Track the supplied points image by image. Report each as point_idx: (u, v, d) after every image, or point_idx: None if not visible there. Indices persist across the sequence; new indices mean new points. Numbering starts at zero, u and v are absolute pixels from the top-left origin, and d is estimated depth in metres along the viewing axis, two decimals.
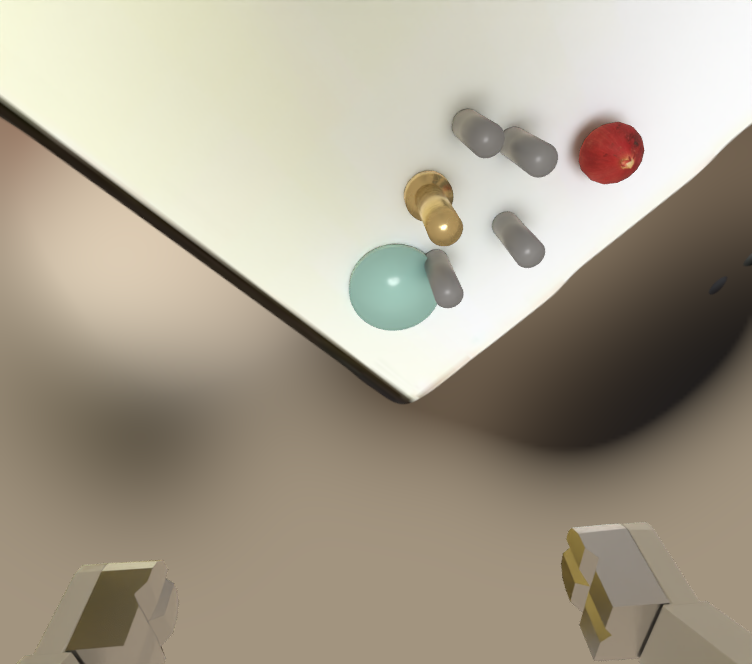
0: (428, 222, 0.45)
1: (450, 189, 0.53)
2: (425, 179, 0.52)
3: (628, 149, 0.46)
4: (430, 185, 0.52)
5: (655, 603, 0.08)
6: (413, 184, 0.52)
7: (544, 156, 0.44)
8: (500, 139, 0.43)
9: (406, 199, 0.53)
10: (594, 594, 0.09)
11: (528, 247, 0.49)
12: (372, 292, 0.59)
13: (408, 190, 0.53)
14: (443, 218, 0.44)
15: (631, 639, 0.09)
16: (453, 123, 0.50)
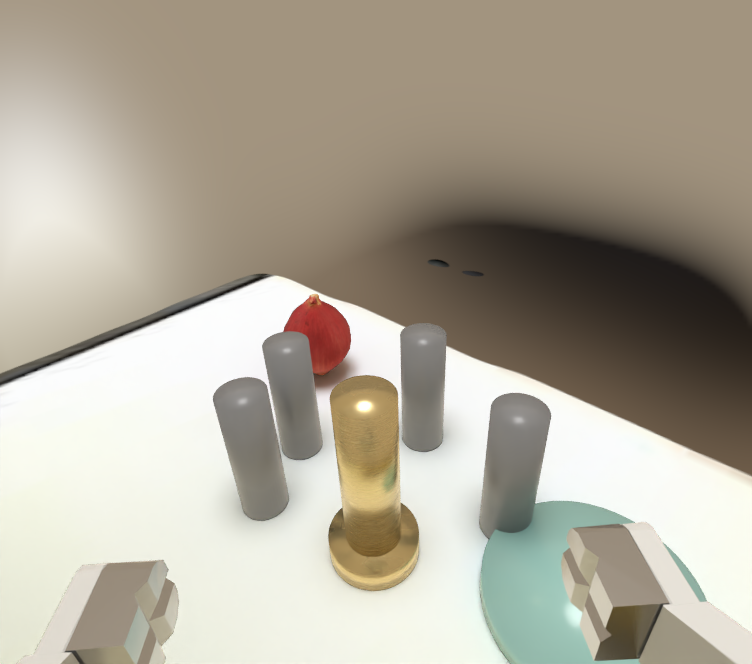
0: (351, 425, 0.22)
1: None
2: (336, 540, 0.28)
3: (301, 306, 0.41)
4: None
5: (655, 603, 0.08)
6: (345, 561, 0.27)
7: (281, 341, 0.32)
8: (243, 381, 0.29)
9: (374, 572, 0.26)
10: (595, 594, 0.09)
11: (413, 337, 0.32)
12: None
13: (356, 569, 0.26)
14: (341, 399, 0.23)
15: (631, 639, 0.09)
16: (256, 513, 0.31)
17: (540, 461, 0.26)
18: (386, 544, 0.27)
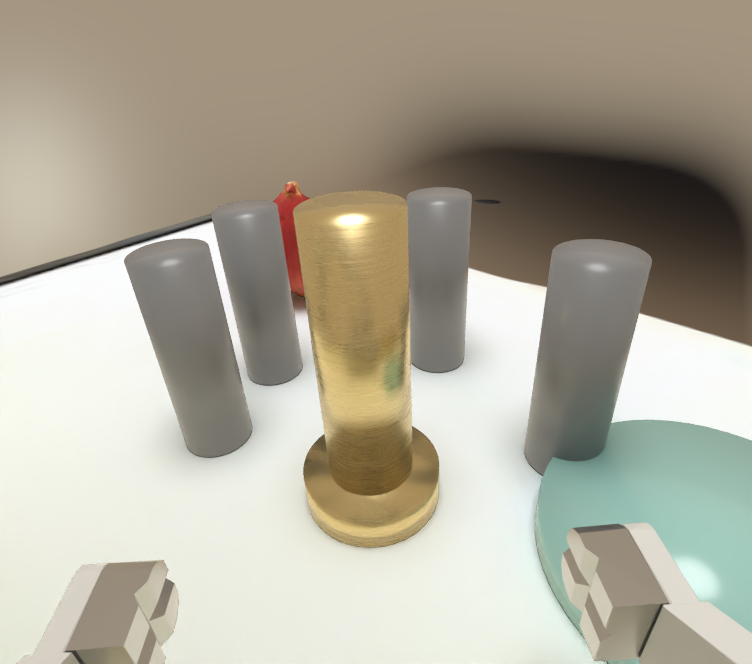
0: (328, 242, 0.13)
1: None
2: (316, 475, 0.19)
3: (275, 200, 0.32)
4: None
5: (655, 603, 0.08)
6: (328, 502, 0.17)
7: (238, 207, 0.23)
8: (176, 241, 0.19)
9: (372, 516, 0.17)
10: (595, 594, 0.09)
11: (424, 198, 0.23)
12: None
13: (345, 513, 0.17)
14: (312, 211, 0.14)
15: (631, 639, 0.09)
16: (202, 445, 0.21)
17: (630, 338, 0.17)
18: (390, 475, 0.17)
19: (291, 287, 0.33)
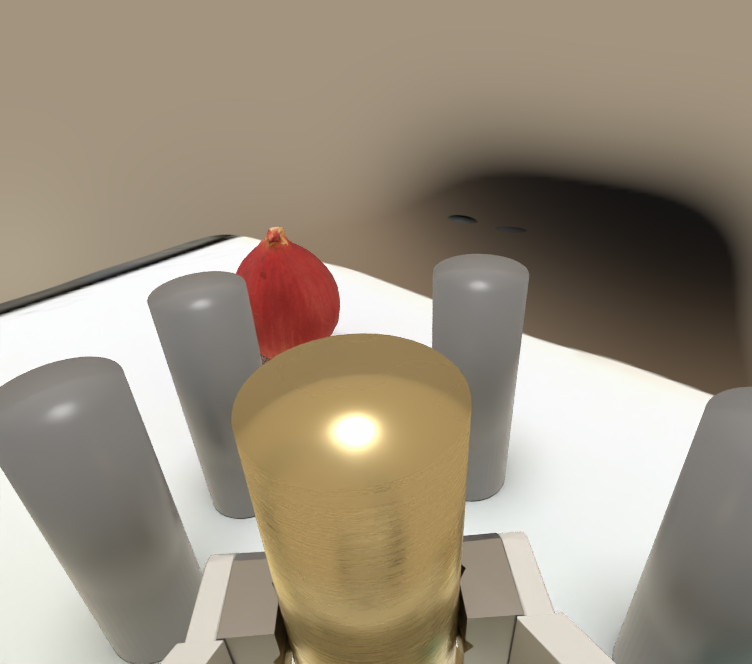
0: (302, 510, 0.06)
1: None
2: None
3: (255, 249, 0.24)
4: None
5: (511, 615, 0.08)
6: None
7: (189, 287, 0.16)
8: (75, 364, 0.12)
9: None
10: (459, 604, 0.09)
11: (459, 276, 0.16)
12: None
13: None
14: (273, 410, 0.07)
15: (495, 650, 0.09)
16: (129, 652, 0.14)
17: None
18: None
19: None
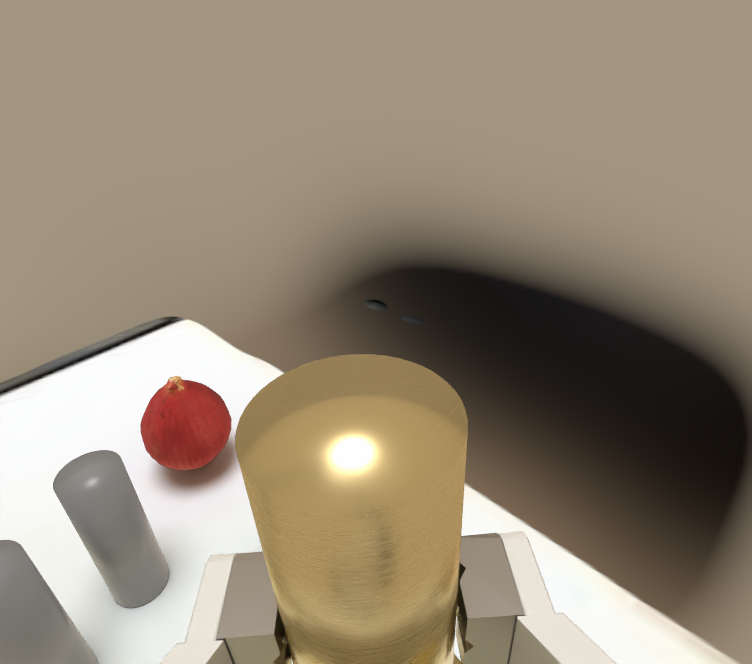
0: (305, 533, 0.06)
1: None
2: None
3: (160, 390, 0.33)
4: None
5: (511, 614, 0.08)
6: None
7: (83, 469, 0.24)
8: None
9: None
10: (460, 604, 0.09)
11: None
12: None
13: None
14: (275, 433, 0.07)
15: (495, 650, 0.09)
16: None
17: None
18: None
19: None
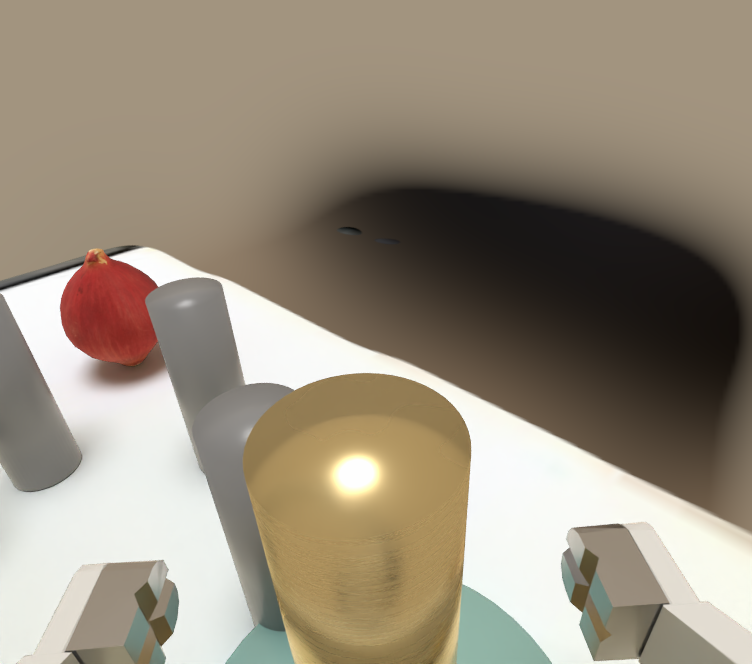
0: (312, 556, 0.06)
1: None
2: None
3: (81, 267, 0.29)
4: None
5: (655, 603, 0.08)
6: None
7: None
8: None
9: None
10: (595, 594, 0.09)
11: (165, 296, 0.20)
12: None
13: None
14: (282, 455, 0.07)
15: (631, 639, 0.09)
16: None
17: None
18: None
19: (106, 360, 0.30)
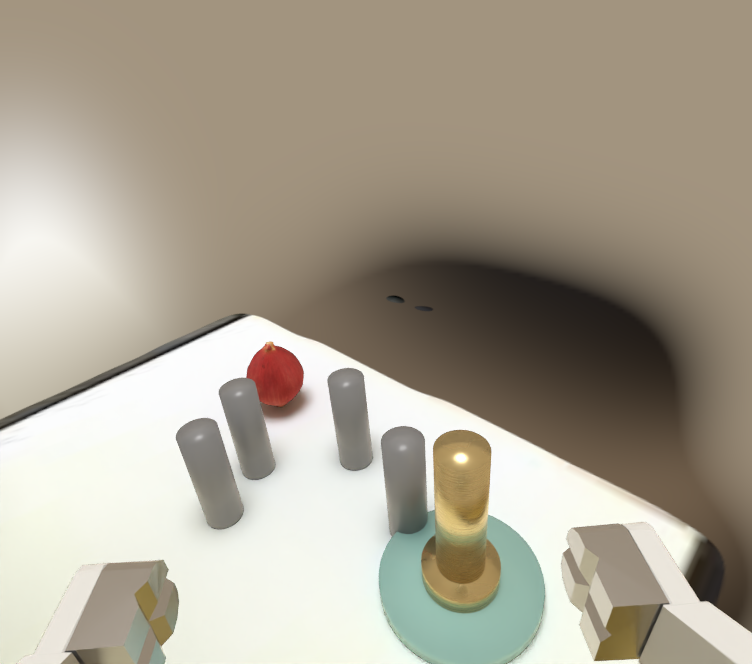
0: (456, 475, 0.27)
1: None
2: (429, 569, 0.32)
3: (259, 351, 0.50)
4: (436, 556, 0.32)
5: (655, 603, 0.08)
6: (440, 588, 0.31)
7: (233, 386, 0.41)
8: (200, 421, 0.37)
9: (467, 597, 0.30)
10: (595, 594, 0.09)
11: (337, 380, 0.41)
12: (466, 614, 0.31)
13: (451, 595, 0.31)
14: (444, 453, 0.27)
15: (631, 639, 0.09)
16: (215, 523, 0.39)
17: (420, 478, 0.34)
18: (475, 572, 0.31)
19: None
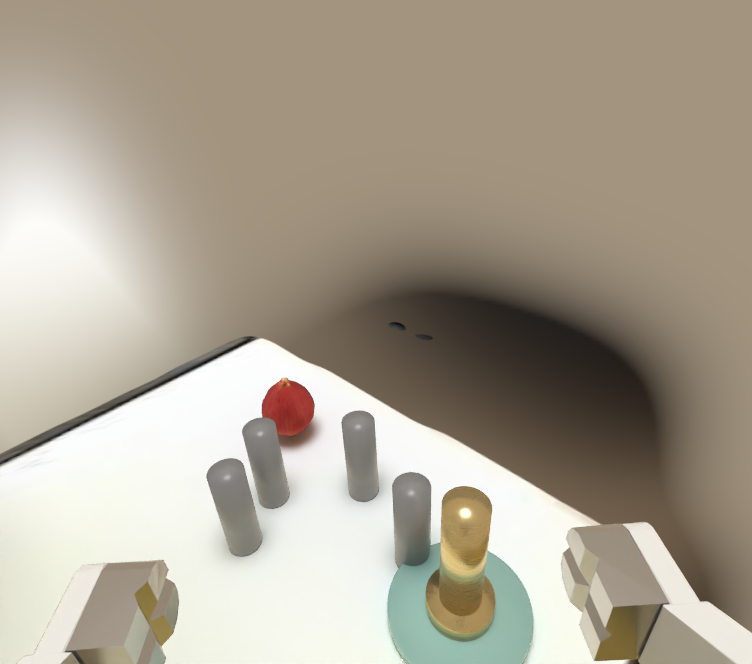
0: (461, 530, 0.31)
1: None
2: (433, 602, 0.37)
3: (274, 386, 0.54)
4: (439, 590, 0.37)
5: (655, 603, 0.08)
6: (443, 619, 0.36)
7: (255, 426, 0.45)
8: (228, 461, 0.41)
9: (466, 628, 0.35)
10: (595, 594, 0.09)
11: (350, 423, 0.45)
12: (465, 643, 0.36)
13: (452, 626, 0.35)
14: (451, 509, 0.32)
15: (631, 639, 0.09)
16: (238, 551, 0.43)
17: (426, 519, 0.39)
18: (474, 606, 0.36)
19: None
